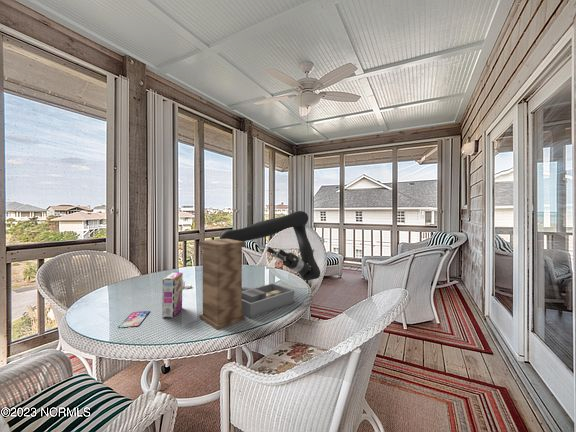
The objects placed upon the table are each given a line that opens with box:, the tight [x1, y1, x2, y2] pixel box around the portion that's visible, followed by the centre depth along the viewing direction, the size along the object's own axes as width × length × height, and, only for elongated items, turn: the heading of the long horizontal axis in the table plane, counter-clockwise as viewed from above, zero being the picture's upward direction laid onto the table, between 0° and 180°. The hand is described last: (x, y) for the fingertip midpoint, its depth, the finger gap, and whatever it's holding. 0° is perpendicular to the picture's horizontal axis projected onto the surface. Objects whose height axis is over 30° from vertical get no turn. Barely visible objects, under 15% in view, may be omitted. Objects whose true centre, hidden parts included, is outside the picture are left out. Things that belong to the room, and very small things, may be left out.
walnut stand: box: [198, 238, 246, 330], centre depth 107 cm, size 13×14×32 cm
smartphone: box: [117, 310, 151, 329], centre depth 107 cm, size 8×1×15 cm
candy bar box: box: [161, 272, 183, 319], centre depth 113 cm, size 11×5×16 cm, turn 5°
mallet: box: [242, 288, 282, 303], centre depth 124 cm, size 20×8×6 cm, turn 134°
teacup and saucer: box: [182, 279, 193, 291], centre depth 148 cm, size 9×8×4 cm
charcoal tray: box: [242, 283, 295, 319], centre depth 123 cm, size 26×16×6 cm, turn 135°
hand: (273, 249), depth 127 cm, fingers open, 8 cm apart
